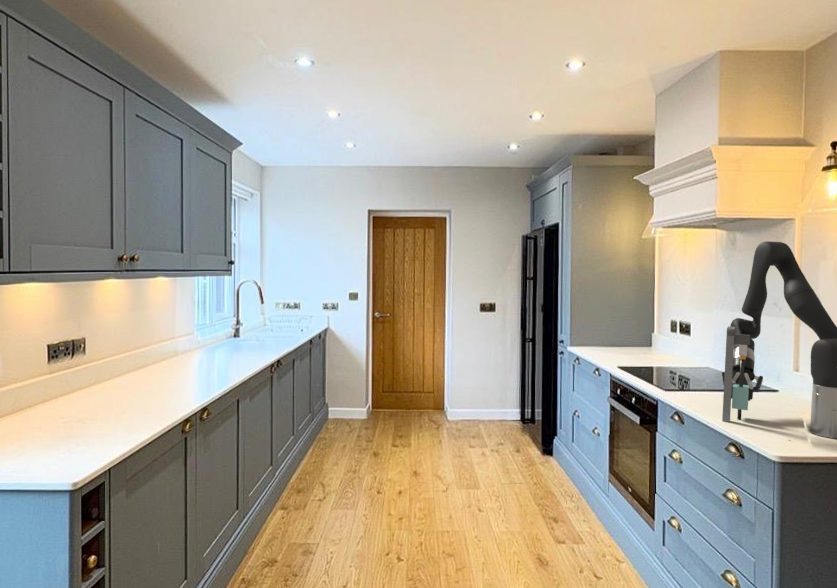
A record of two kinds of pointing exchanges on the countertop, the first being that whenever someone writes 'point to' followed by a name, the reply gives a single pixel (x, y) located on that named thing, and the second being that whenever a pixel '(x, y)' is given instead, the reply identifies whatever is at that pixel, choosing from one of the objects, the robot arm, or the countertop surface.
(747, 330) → the robot arm
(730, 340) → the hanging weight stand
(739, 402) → the sleeve
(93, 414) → the countertop surface
